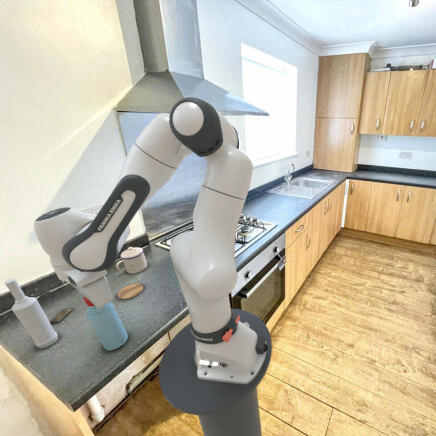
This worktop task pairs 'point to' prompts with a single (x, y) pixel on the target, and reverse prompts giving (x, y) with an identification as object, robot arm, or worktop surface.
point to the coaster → (130, 291)
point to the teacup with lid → (133, 260)
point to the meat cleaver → (60, 315)
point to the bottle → (32, 316)
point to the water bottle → (107, 326)
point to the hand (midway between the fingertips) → (96, 304)
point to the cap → (88, 302)
